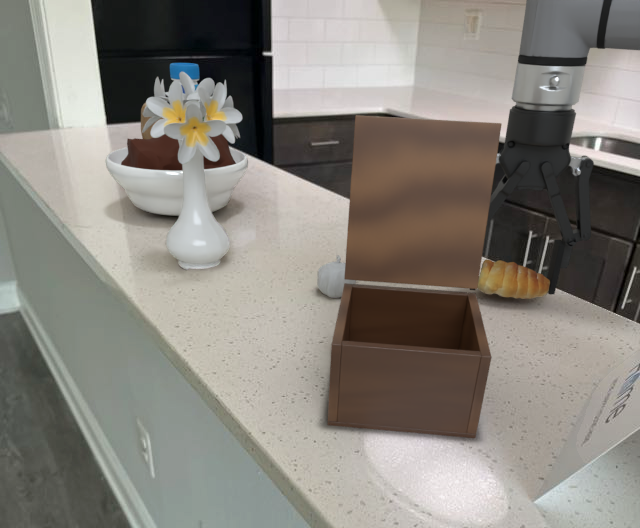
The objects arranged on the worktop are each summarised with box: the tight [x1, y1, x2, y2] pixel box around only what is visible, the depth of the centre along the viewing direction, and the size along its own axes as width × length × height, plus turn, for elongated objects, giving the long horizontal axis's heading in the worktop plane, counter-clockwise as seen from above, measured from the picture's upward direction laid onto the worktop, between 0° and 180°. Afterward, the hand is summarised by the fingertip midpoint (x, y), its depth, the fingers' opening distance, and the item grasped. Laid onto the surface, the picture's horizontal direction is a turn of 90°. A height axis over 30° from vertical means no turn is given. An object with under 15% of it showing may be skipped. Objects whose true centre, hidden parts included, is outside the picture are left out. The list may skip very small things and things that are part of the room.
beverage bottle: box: [169, 62, 200, 94], centre depth 158 cm, size 8×8×20 cm
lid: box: [344, 114, 502, 290], centre depth 65 cm, size 16×14×1 cm
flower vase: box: [142, 72, 243, 271], centre depth 91 cm, size 13×18×25 cm
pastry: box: [477, 258, 550, 300], centre depth 87 cm, size 9×7×4 cm
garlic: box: [316, 254, 357, 299], centre depth 88 cm, size 6×5×5 cm
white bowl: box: [104, 134, 249, 217], centre depth 118 cm, size 25×25×15 cm
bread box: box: [326, 283, 492, 439], centre depth 65 cm, size 15×14×9 cm
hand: (510, 288), depth 88 cm, fingers closed on pastry, 10 cm apart
